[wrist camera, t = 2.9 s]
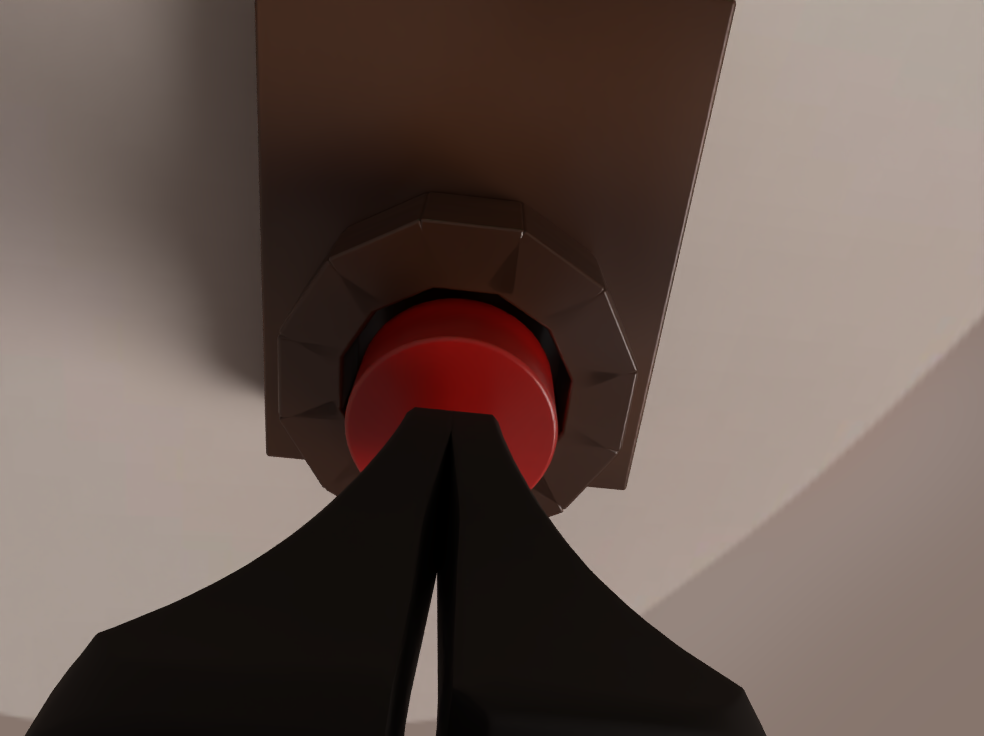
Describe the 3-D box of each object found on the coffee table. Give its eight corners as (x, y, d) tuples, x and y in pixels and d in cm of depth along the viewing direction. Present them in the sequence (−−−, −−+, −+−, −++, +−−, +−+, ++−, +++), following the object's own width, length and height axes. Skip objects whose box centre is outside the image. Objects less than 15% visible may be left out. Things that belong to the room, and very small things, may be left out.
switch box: (611, 447, 20) (636, 554, 16) (289, 416, 19) (240, 517, 16) (707, -5, 15) (772, 3, 11) (285, -57, 15) (215, -65, 11)
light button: (538, 474, 16) (542, 529, 14) (357, 456, 15) (341, 511, 14) (566, 307, 14) (574, 350, 12) (363, 286, 14) (346, 326, 12)
